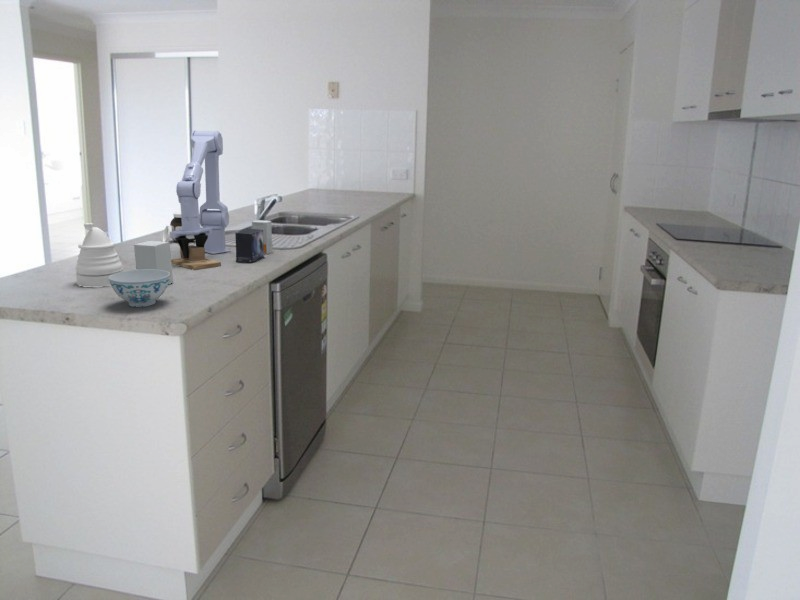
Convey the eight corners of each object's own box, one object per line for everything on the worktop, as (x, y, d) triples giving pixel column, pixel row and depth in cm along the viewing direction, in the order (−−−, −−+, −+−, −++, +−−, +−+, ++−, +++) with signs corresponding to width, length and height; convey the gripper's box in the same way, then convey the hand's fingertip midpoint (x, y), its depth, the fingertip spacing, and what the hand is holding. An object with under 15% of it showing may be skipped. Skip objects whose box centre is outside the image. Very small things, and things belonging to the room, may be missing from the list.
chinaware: (129, 295, 184) (126, 268, 182) (181, 297, 183) (179, 270, 181) (100, 309, 170) (97, 280, 168) (156, 312, 168) (153, 282, 166)
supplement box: (174, 283, 199) (171, 241, 195) (157, 288, 192) (154, 245, 189) (153, 281, 201) (150, 240, 198) (136, 286, 194) (133, 243, 191)
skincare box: (252, 253, 246) (251, 221, 243) (258, 251, 250) (256, 219, 247) (267, 254, 244) (266, 222, 241) (272, 252, 248) (271, 220, 245)
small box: (253, 263, 228) (251, 233, 226) (235, 262, 230) (234, 232, 227) (265, 257, 238) (264, 228, 236) (248, 256, 240) (246, 228, 237)
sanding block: (180, 259, 227) (179, 246, 225) (192, 257, 230) (191, 245, 229) (193, 262, 221) (192, 249, 220) (205, 261, 225) (204, 247, 223)
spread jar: (200, 241, 268) (198, 213, 265) (177, 245, 259) (175, 216, 256) (180, 238, 274) (178, 210, 271) (157, 242, 265) (155, 213, 262)
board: (169, 263, 227) (168, 259, 227) (195, 259, 234) (195, 255, 234) (194, 270, 217) (194, 266, 216) (220, 265, 224) (220, 262, 223)
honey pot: (94, 289, 190) (87, 227, 185) (68, 283, 196) (60, 223, 192) (133, 281, 200) (127, 222, 196) (106, 276, 207) (100, 218, 202)
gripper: (176, 220, 214) (179, 261, 217) (215, 216, 224) (218, 255, 228) (165, 217, 218) (168, 258, 222) (204, 214, 229) (206, 252, 232)
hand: (192, 256), depth 225 cm, fingers closed on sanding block, 4 cm apart
